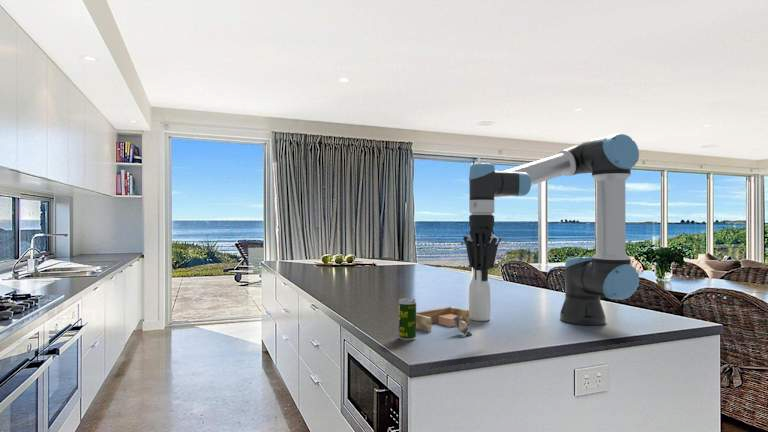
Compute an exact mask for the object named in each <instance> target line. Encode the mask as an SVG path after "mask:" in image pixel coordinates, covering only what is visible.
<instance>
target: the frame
mask: <svg viewBox="0 0 768 432" xmlns="http://www.w3.org/2000/svg"><path fill="white" fill-rule="evenodd" d="M447 314H453V315H457V316H461V317H463V321H465V322H466V323H467V325H469V324H470V321H471V319H470V311H469V309H465V308H464V309H463V308H459V307H453V306H446V307H440V308H433V309H428V310H423V311H416V330H420V331H424V332H428V333H430V332H432V324H436V323H438V316H442V315H447Z"/></svg>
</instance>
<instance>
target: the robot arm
mask: <svg viewBox="0 0 768 432" xmlns="http://www.w3.org/2000/svg"><path fill="white" fill-rule="evenodd" d="M639 157H640V151H639V146H638V145H637V143H636V142H635V140H633V138H632V137H631V136H629V135H627V134H625V133H615V134H608V135H605V136H601V137H597V138H593V139H587V140H585V141H582V142H581V143H578V144H576V145H574V146H570V147H568V148H565V149H562V150H560V151H558V153H557V154H555V155H552V156H549V157H545V158H542V159H538V160H536V161H532V162H529V163H525V164H522V165H518V166H515V167H512V168H511V167H510V168H508V169H505V170H500V171H499V170H496V168H495V165H494V164H493V163H489V162H481V163H473V164H471V165H470V167H469V177H468V180H469V181H468V183H469V190H468V191H469V195H468V196H469V199H468V200H469V201H468V202H469V213H470V215H469V217H468V226H469V228H470V229H469V234H467V236H465V235H464V236H463V238H462V239H463V241H464V243H465V247H466V253H467V259H468V265H469V267H470V268H474V269H475V280H476V292H486V281H487V280H488V279H489V278H488V277H489V275H488V274H489V273H488V272H489V270H491V269H492V270H493V269H494V267H495V261H496V258H497V251H498V248H499V244H500V242H501V240H502V238H501V237H497V236H496V235H495V231H494V227H495V216H494V215H493V214H494V213H495V197H496V198H498V197H510V196H511V197H519V196H520V197H521V196H522V197H523V196H526V195H528V194H529V193H530V190H531V188H532V186H533V185H535V184H539V183H543V182H545V181H549V180H553V179H556V178H559V177H562V176H565V177H571V176H575V175H583V174H591V177H592V178H593V179H594V180H595V182H596V253H595V254H594V255H592V256H582V257H581V256H579V257H568V258H567V259H566V260H565V263H564V264H565V266H564V287H565V289H564V290H565V291H564V293H565V294H564V296H565V298H564V300H563V303H562V307H561V310H560V312H559V317H560V318H559V319H560V321H561V322H565V323H569V324H574V325H579V326H580V325H581V326H582V325H583V326H601V325H605V324H606V322H607V321H606V320H607V318H606V317H607V316H606V314H605V310H604V308H603V306H602V303H601V297H603V298H607V299H610V300H621V301H622V300H623V301H624V300H626V299H629V298H630V297H631V296H633V294H635V292H636V291H637V289H638V287H639V283H640V275H639V271H637V268H635V267H634V266H633V265H632V263H631V262H632V258H631V257H630V256H629V255H628V254H627V252H626V250H627V249H626V247H627V246H626V241H627V240H626V181H627V179H628V178H629V177H631V176H632V175H631V172H632V171H631V169H632V168H633V167H635V166H636V164H637V163H638V161H639V159H640V158H639Z"/></svg>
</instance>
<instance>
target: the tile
mask: <svg viewBox="0 0 768 432" xmlns="http://www.w3.org/2000/svg"><path fill="white" fill-rule="evenodd" d="M456 316H457V315H453V314H447V315H442V316H438V322H437V323H438V325H442V326H446V327H449V328H452V327H457V325H456V324H455V321H454V320H453V319H454V318H455V317H456ZM460 318H461V319H462V320H463V317H461V316H460Z"/></svg>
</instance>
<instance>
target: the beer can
mask: <svg viewBox="0 0 768 432" xmlns="http://www.w3.org/2000/svg"><path fill="white" fill-rule="evenodd" d="M416 312H417V301H416V298H412V297H411V298H410V297H406V298H405V297H403V298H399V302H398V338H399V340H401V341H405V342H406V341H408V342H409V341H414V340H415V341H416V338H417V329H416Z"/></svg>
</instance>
